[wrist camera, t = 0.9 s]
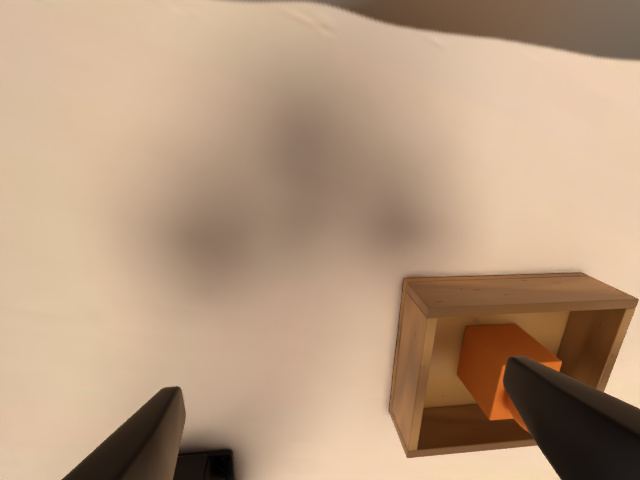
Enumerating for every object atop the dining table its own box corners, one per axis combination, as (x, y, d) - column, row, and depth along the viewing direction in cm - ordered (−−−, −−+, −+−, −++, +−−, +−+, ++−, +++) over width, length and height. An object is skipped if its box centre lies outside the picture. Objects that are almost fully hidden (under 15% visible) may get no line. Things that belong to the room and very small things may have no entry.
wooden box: (543, 398, 29) (585, 441, 25) (388, 410, 27) (406, 458, 23) (582, 272, 25) (639, 299, 21) (403, 278, 23) (428, 308, 19)
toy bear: (504, 371, 26) (587, 461, 19) (456, 374, 26) (523, 467, 19) (516, 323, 25) (611, 400, 18) (465, 325, 24) (541, 406, 17)
